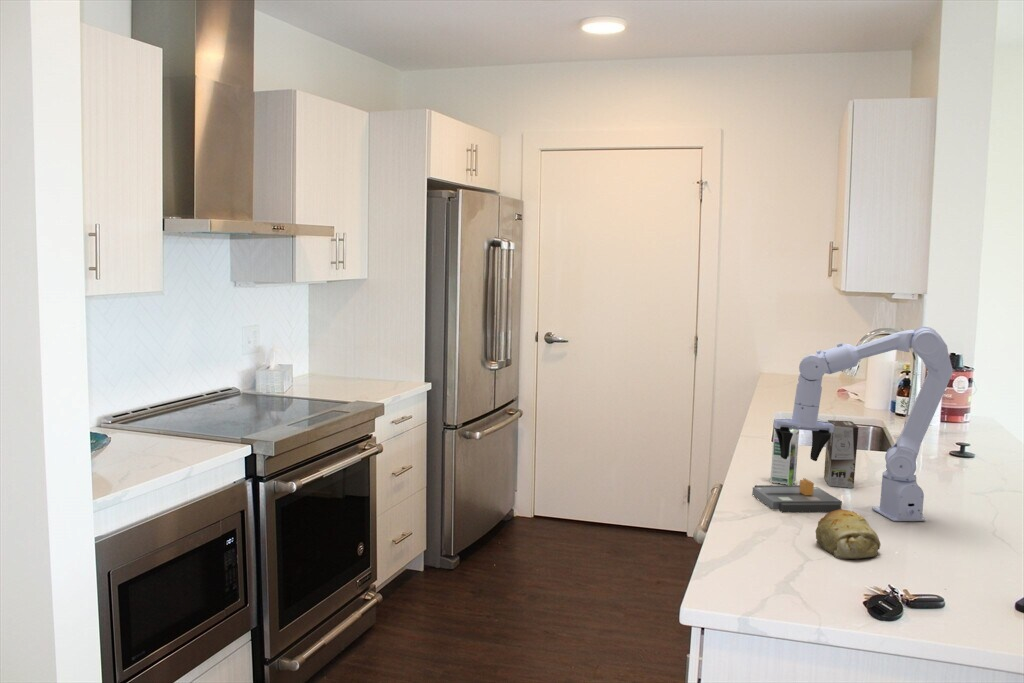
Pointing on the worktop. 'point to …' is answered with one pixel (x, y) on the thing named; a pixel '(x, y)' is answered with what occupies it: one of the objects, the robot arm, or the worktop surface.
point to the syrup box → (784, 460)
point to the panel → (791, 496)
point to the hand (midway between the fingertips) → (798, 458)
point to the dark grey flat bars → (804, 504)
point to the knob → (806, 487)
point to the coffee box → (841, 454)
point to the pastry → (847, 535)
